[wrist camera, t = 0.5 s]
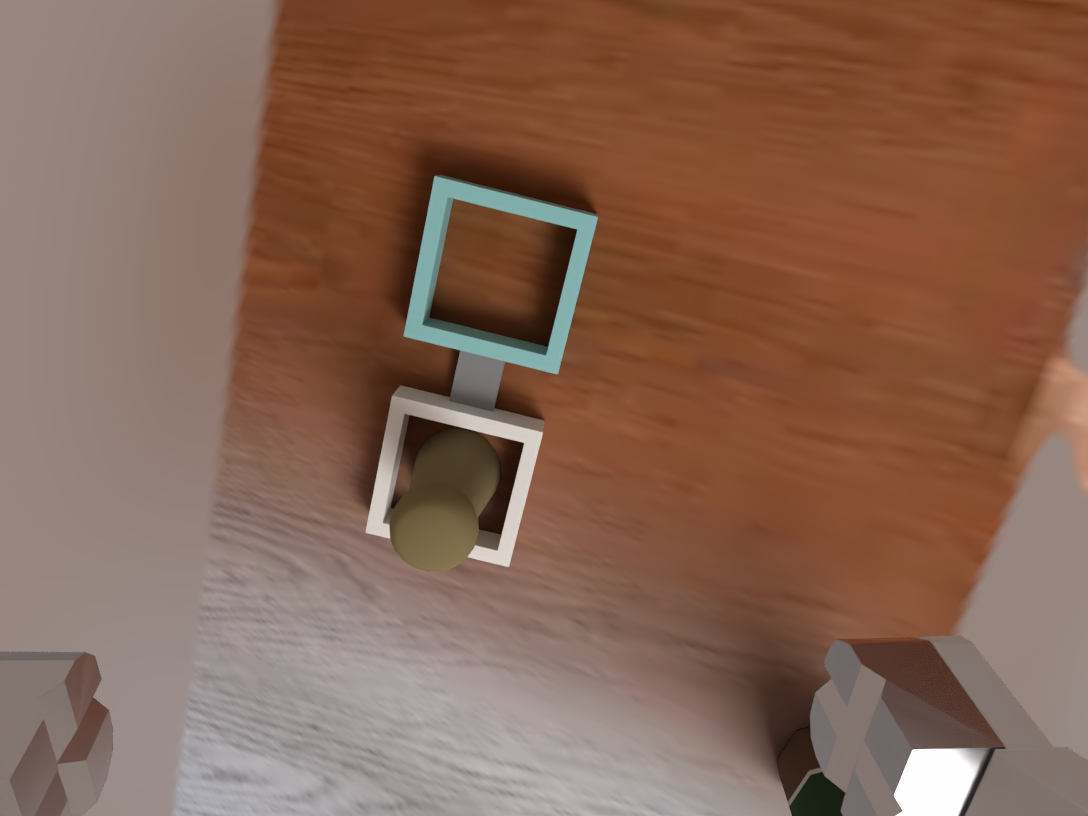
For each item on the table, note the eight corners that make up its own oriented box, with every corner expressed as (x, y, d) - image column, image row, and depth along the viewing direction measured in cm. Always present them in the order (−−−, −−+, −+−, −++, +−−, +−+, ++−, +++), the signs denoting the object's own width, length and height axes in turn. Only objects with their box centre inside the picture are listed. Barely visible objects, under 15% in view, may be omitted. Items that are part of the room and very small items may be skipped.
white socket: (411, 328, 55) (403, 336, 52) (559, 364, 55) (557, 374, 52) (374, 517, 59) (365, 532, 56) (511, 550, 59) (508, 567, 57)
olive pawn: (400, 487, 58) (359, 561, 48) (435, 413, 56) (400, 473, 46) (479, 523, 59) (455, 604, 48) (515, 451, 57) (499, 519, 46)
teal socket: (441, 175, 52) (434, 175, 49) (597, 214, 52) (598, 217, 50) (411, 328, 55) (403, 336, 52) (559, 364, 55) (557, 374, 52)
